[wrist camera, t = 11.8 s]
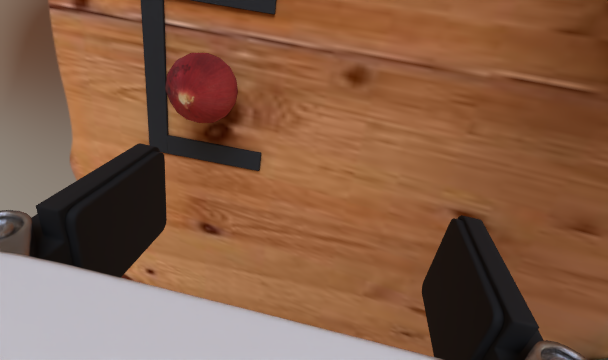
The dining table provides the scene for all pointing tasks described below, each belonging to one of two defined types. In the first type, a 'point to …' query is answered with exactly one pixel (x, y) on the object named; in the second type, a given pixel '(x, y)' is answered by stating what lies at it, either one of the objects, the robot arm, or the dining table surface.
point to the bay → (158, 96)
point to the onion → (201, 87)
